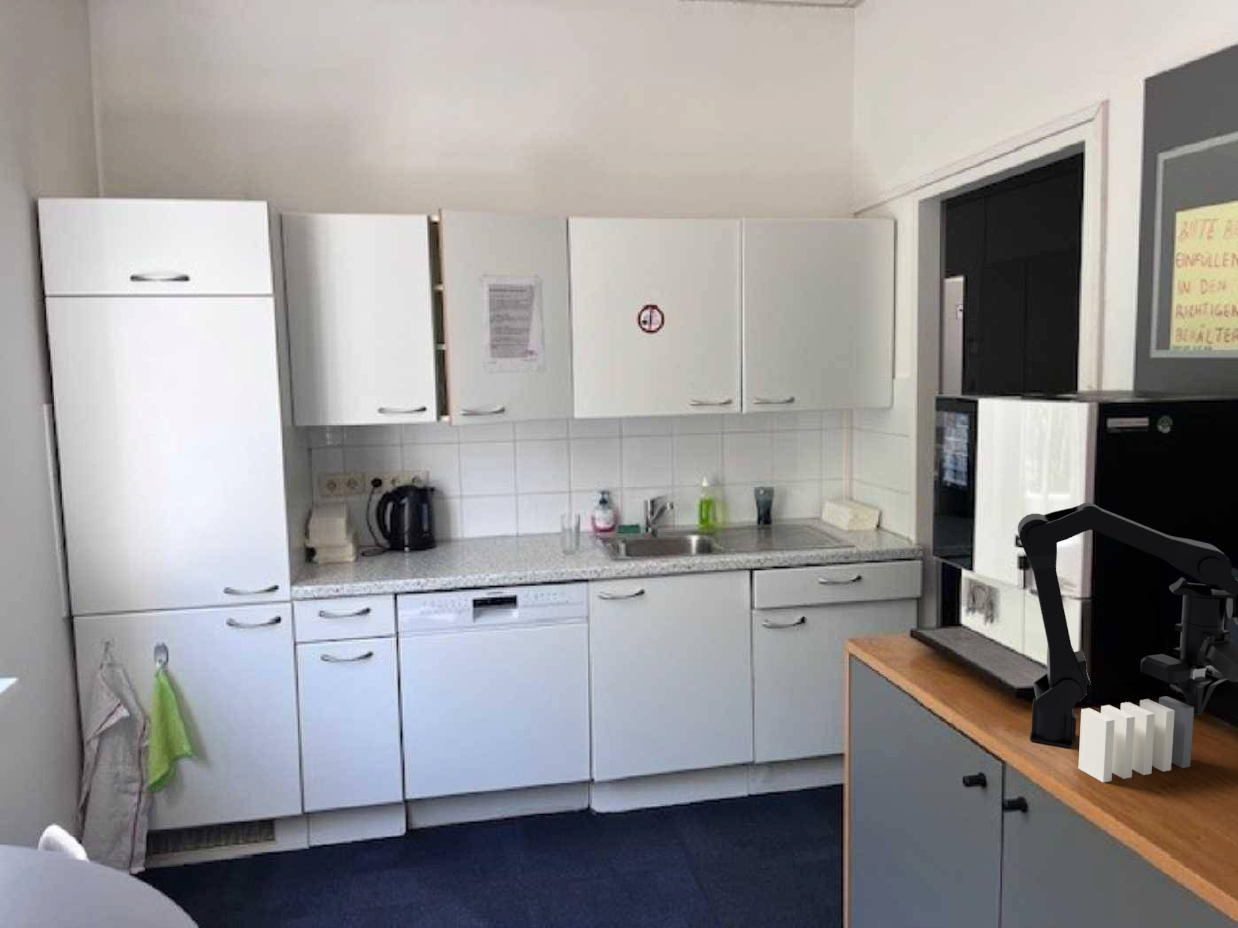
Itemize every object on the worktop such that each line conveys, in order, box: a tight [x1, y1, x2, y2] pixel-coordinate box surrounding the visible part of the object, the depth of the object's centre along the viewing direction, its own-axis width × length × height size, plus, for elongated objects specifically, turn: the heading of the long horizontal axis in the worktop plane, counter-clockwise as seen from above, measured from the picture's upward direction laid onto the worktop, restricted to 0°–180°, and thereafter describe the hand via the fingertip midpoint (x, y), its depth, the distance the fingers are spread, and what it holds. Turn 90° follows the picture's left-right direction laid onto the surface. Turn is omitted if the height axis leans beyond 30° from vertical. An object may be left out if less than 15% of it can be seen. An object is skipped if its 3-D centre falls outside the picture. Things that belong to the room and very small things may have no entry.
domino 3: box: [1120, 701, 1155, 776], centre depth 142 cm, size 2×5×10 cm, turn 16°
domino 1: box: [1077, 707, 1115, 783], centre depth 139 cm, size 2×5×10 cm, turn 16°
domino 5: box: [1158, 695, 1195, 769], centre depth 144 cm, size 2×5×10 cm, turn 16°
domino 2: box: [1100, 704, 1135, 780], centre depth 141 cm, size 2×5×10 cm, turn 16°
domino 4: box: [1139, 698, 1175, 773], centre depth 143 cm, size 2×5×10 cm, turn 16°
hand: (1196, 713), depth 145 cm, fingers closed
